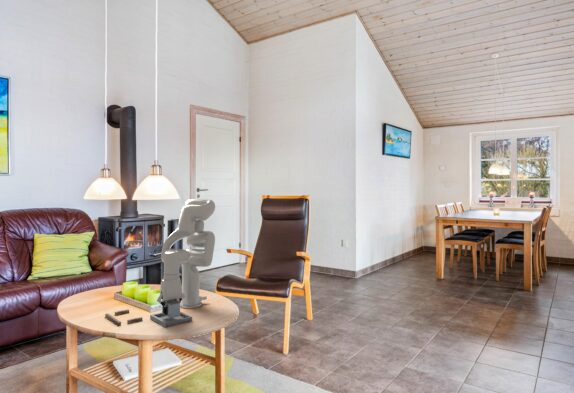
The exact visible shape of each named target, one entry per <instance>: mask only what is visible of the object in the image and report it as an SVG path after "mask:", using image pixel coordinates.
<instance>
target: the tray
mask: <svg viewBox="0 0 574 393" xmlns="http://www.w3.org/2000/svg"><path fill="white" fill-rule="evenodd" d="M149 319H150V320H151V321H153V322H155V323H157V324H158V325H160V326H162V327H164V328H168V327H173V326H177V325H181V324H185V323H190V322H193V316H191V315H189V314H187V313H185V312H184V311H183V312H182V311H181V310H180V316H178V317H173V318H169V317H167V316H166V315H164V314H162V312H158V313H153V314H150V316H149Z"/></svg>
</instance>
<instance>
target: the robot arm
mask: <svg viewBox="0 0 574 393" xmlns="http://www.w3.org/2000/svg"><path fill="white" fill-rule="evenodd" d="M215 210H216V203H215V202H214V200H212V199H195V198H194V199H187V200H186V201H185V204H184V206H183V207H182V208H181V210H180V214H179V218H178V222H177V227H176V229H175V230H174V231H173V232H172V233H170V235H168V237H166V239H165V240H164V242H163V245H162V248H161V254H160V260H161V262H162V263H163V278H162V279H161V281H160V288H159V296H158V297H157V299H156V302H157V303H158V304H160V306H161V305H162V306H163V313H164V314H165V315H167V314H168V307H167V303H168V301H169V300H177V301H179V302H180V309H181V308H182V309H197V308H200V307H201V306H203V301H206V300H207V299H208V297H207V296H206V295H205V296H202V295H200V277H201V276H200V275H201V274H200V271H199V270H198V268H197V267H199V268H200V267H201V268H207V267H210V266H211V264H212V262H213V258H214V252H215V250H214V249H215V245H216V236H215V233H214V232H213V231H210V230H204V228H205V221H206V220H208V219H209V218H210V217H211V216H212V215H213V214H214V212H215ZM185 238H186V242H185V243H186V245H187V246H188V247H190V248H187V249H183V248H182V249H181V248H172V246H174V244H175V243H177V242H178V241H180V240H182V239H185ZM197 248H199V249H197ZM201 248H202V249H201ZM180 265H181V272H180ZM180 277H181V278H180ZM162 300H163V302H162ZM162 306H161V307H162Z"/></svg>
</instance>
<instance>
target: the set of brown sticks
mask: <svg viewBox="0 0 574 393" xmlns="http://www.w3.org/2000/svg"><path fill="white" fill-rule="evenodd" d="M124 314H130V309H122V310H117V311H114V316H119V315H124ZM104 316H105V318H106V319H108V320H110V322H112V323H113V324H116V326H118V327H119V326H121V325H122V322H121V320H119V319H117V318H116V317H114V316H113V315H112V314H110V313H105V314H104ZM142 321H143V316H139V317H135V318H129V319H126V322H127V324H133V323H137V322H142Z"/></svg>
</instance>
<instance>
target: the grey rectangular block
mask: <svg viewBox="0 0 574 393" xmlns="http://www.w3.org/2000/svg"><path fill="white" fill-rule="evenodd" d="M161 301H162V302H163V299H161ZM167 307H168V314H167V315H166V316H167V317H169V318H173V317H178V316H180V311H181V307H180V302H179V301H177V300H169V301H168V303H167ZM161 313H162V314H164V313H163V306H161ZM164 315H165V314H164Z"/></svg>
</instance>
